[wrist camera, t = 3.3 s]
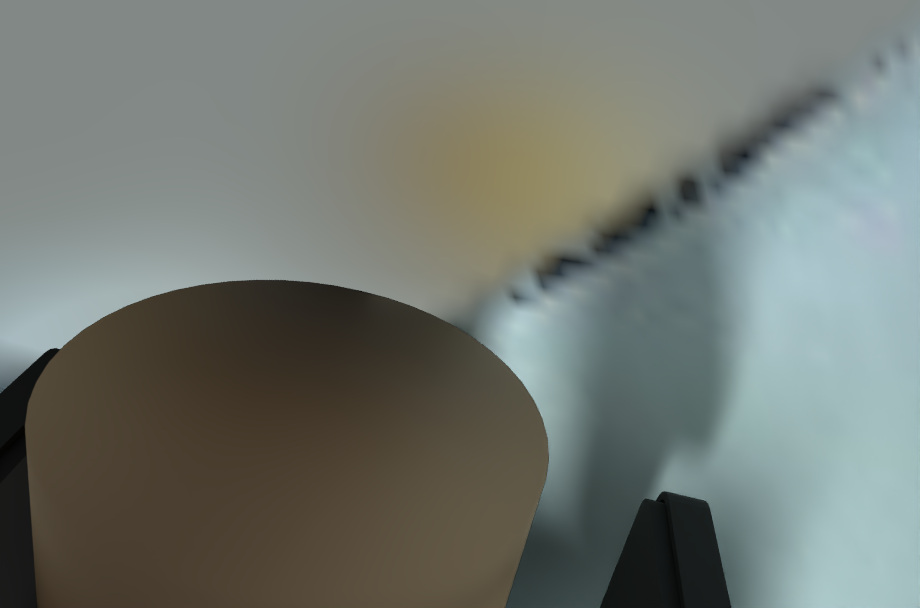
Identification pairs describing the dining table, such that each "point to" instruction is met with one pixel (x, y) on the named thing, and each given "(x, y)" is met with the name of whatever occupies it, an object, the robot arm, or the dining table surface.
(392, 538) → the roller
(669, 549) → the robot arm
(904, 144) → the dining table surface
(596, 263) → the dining table surface
